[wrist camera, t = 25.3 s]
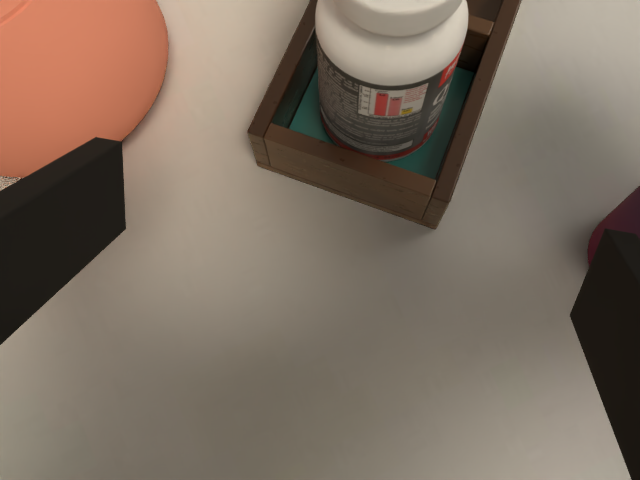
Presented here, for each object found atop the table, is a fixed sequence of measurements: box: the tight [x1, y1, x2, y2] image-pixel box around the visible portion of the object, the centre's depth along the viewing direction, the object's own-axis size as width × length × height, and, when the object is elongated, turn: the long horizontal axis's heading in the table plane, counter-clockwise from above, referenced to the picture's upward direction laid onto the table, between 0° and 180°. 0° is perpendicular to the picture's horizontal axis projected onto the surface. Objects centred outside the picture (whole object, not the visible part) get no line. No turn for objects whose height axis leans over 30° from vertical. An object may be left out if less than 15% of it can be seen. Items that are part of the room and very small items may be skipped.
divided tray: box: [247, 0, 522, 229], centre depth 28 cm, size 9×17×4 cm, turn 158°
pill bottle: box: [315, 0, 468, 162], centre depth 23 cm, size 6×6×10 cm
